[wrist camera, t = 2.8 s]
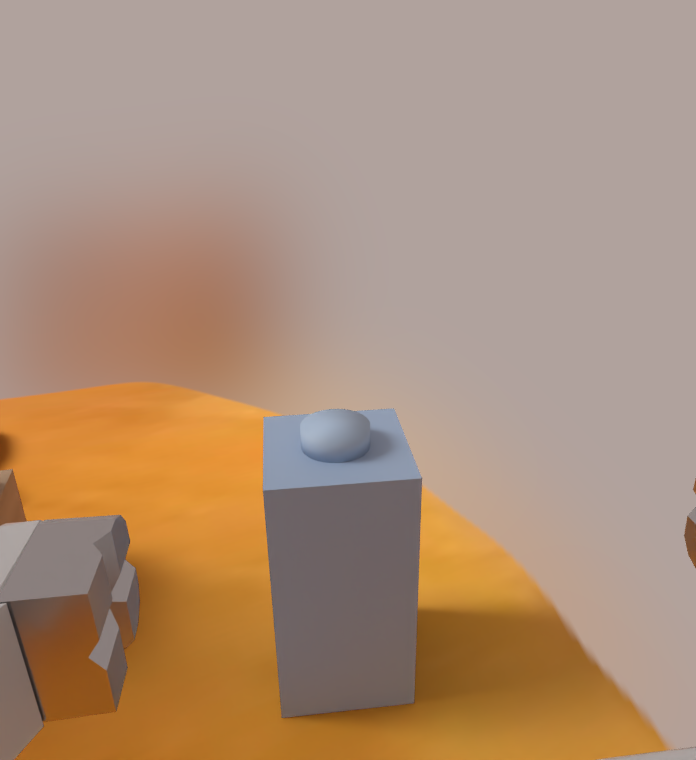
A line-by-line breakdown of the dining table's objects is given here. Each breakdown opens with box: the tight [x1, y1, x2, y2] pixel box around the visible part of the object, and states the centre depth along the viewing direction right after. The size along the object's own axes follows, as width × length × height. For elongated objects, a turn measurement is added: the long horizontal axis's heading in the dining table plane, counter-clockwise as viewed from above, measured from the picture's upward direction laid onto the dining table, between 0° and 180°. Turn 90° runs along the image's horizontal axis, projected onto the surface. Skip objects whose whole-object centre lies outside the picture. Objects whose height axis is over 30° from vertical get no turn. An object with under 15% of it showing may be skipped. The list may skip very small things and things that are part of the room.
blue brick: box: [263, 409, 422, 718], centre depth 25 cm, size 5×5×11 cm
